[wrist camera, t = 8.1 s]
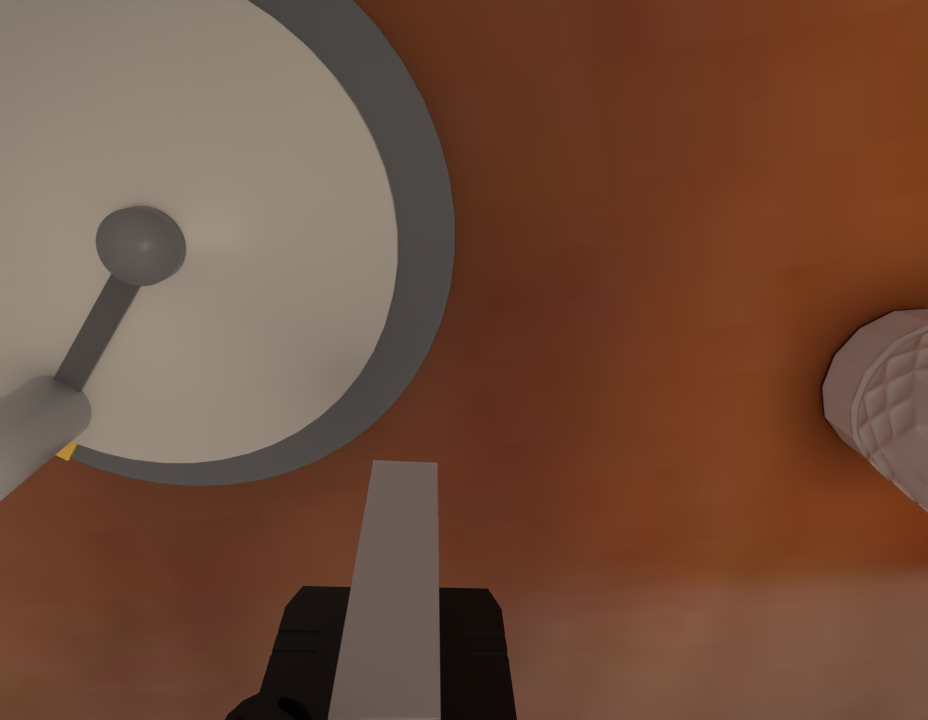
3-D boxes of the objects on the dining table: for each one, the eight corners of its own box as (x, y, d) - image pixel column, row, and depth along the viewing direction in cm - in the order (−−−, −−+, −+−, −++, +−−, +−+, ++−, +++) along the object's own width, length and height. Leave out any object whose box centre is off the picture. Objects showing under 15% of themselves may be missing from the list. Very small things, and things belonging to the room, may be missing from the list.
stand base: (-170, -114, 19) (-246, -148, 17) (469, -56, 20) (474, -79, 18) (-33, 455, 26) (-76, 484, 23) (439, 467, 27) (441, 495, 25)
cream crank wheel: (35, -164, 17) (-242, -382, 10) (489, 182, 21) (520, 203, 14) (-159, 296, 21) (-457, 373, 14) (253, 515, 25) (184, 663, 18)
